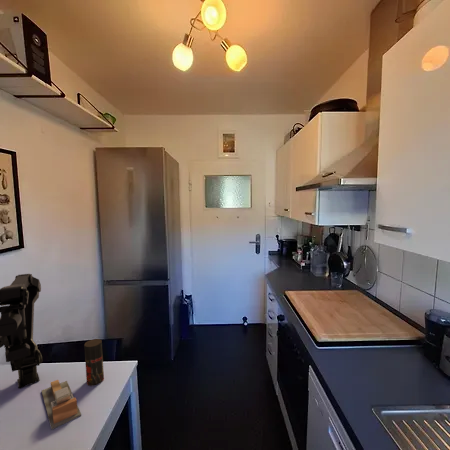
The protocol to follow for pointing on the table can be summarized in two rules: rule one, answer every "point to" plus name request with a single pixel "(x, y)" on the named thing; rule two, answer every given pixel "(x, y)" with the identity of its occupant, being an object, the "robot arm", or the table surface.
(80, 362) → the table surface
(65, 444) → the table surface
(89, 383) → the deodorant
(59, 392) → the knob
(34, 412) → the table surface
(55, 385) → the rail
